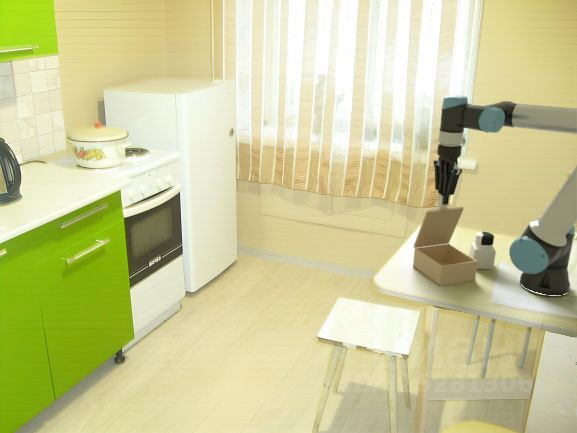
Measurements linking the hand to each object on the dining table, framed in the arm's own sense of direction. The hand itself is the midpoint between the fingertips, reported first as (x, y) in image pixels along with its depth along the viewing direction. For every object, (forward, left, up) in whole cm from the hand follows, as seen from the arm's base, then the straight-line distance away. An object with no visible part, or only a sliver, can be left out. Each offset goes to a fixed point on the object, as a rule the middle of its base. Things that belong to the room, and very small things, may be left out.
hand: (441, 212), depth 206 cm
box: (-5, 0, -20) cm, 21 cm away
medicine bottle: (-3, -17, -21) cm, 27 cm away
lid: (+1, 0, -6) cm, 6 cm away
